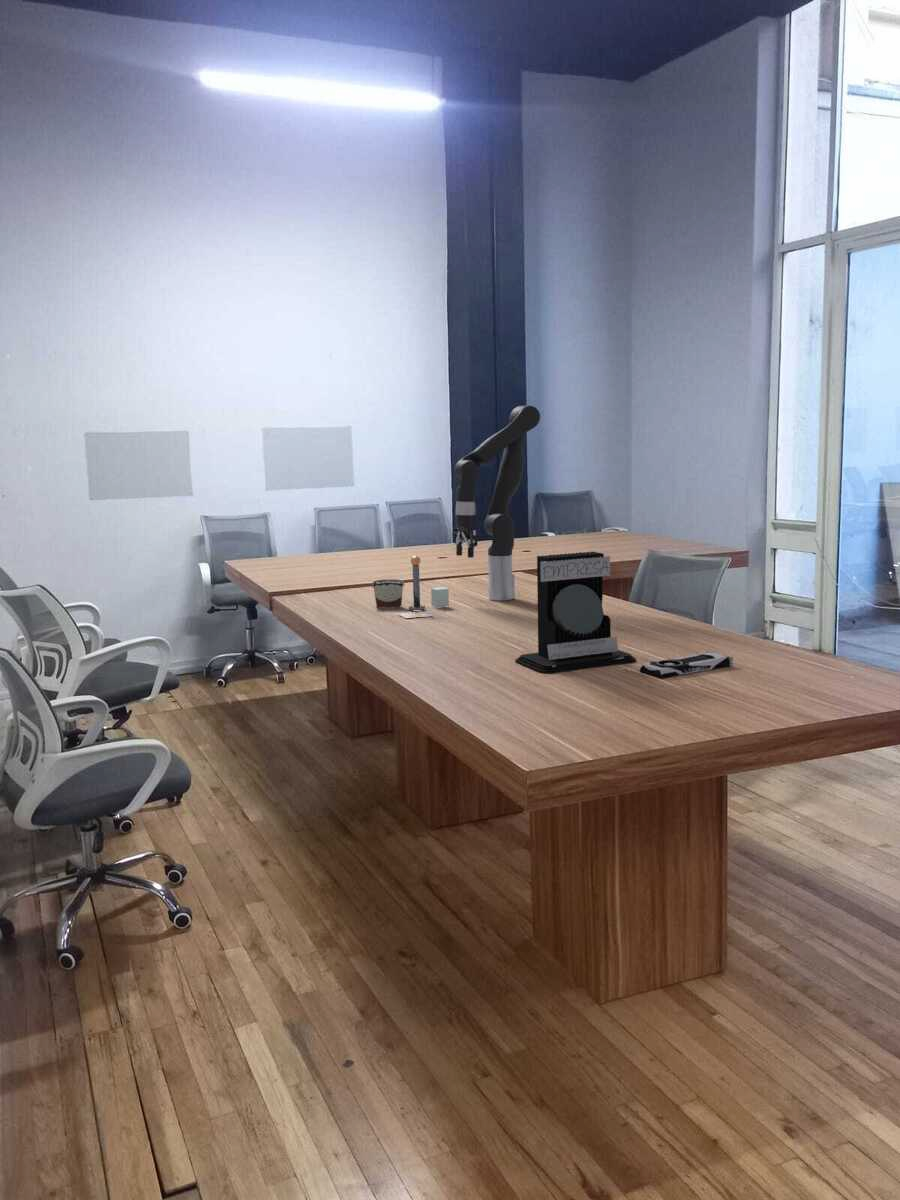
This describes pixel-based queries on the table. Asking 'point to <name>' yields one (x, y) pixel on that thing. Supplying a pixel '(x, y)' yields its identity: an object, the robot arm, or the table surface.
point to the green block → (440, 597)
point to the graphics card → (686, 665)
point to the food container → (388, 592)
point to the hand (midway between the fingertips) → (464, 556)
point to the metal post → (416, 584)
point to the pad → (414, 614)
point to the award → (573, 615)
